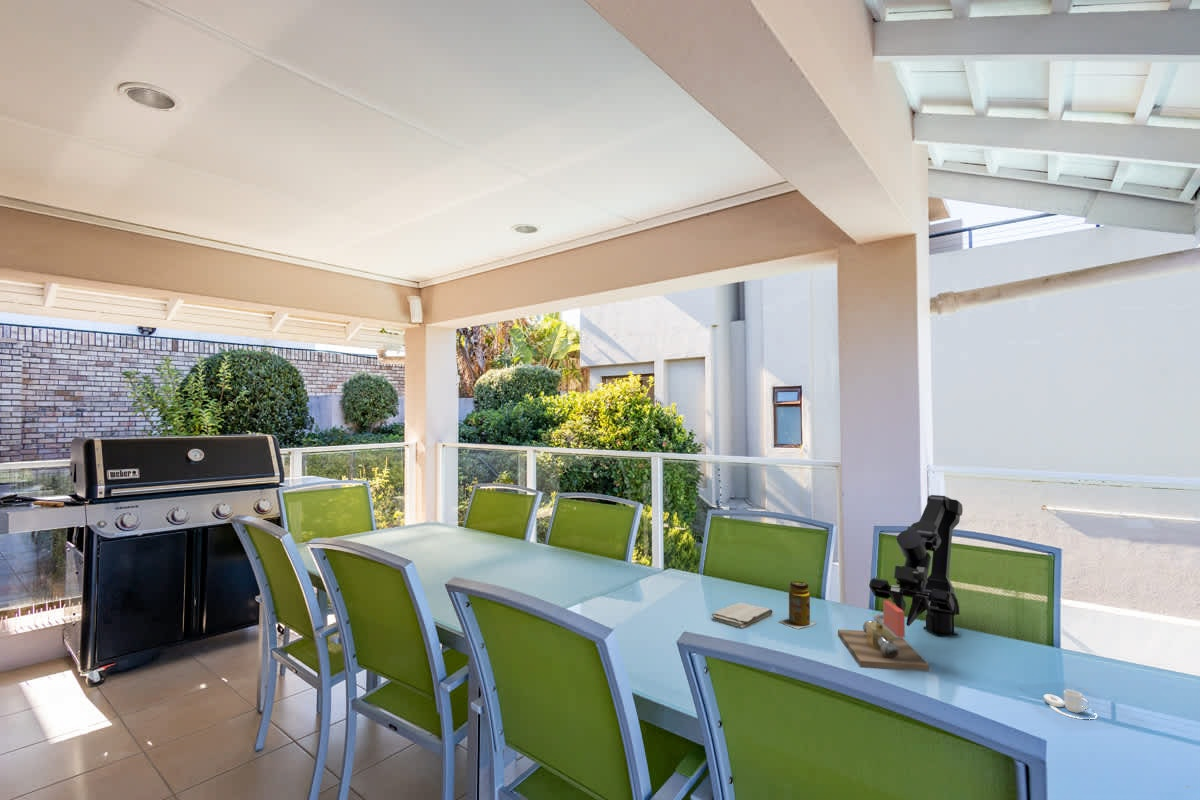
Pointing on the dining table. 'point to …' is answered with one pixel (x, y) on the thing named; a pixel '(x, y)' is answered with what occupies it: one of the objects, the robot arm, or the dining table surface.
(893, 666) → the mounting board
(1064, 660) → the dining table surface
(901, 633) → the valve lever
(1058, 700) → the teacup and saucer
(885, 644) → the ball valve
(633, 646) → the dining table surface
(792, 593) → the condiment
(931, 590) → the robot arm
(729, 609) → the washcloth
